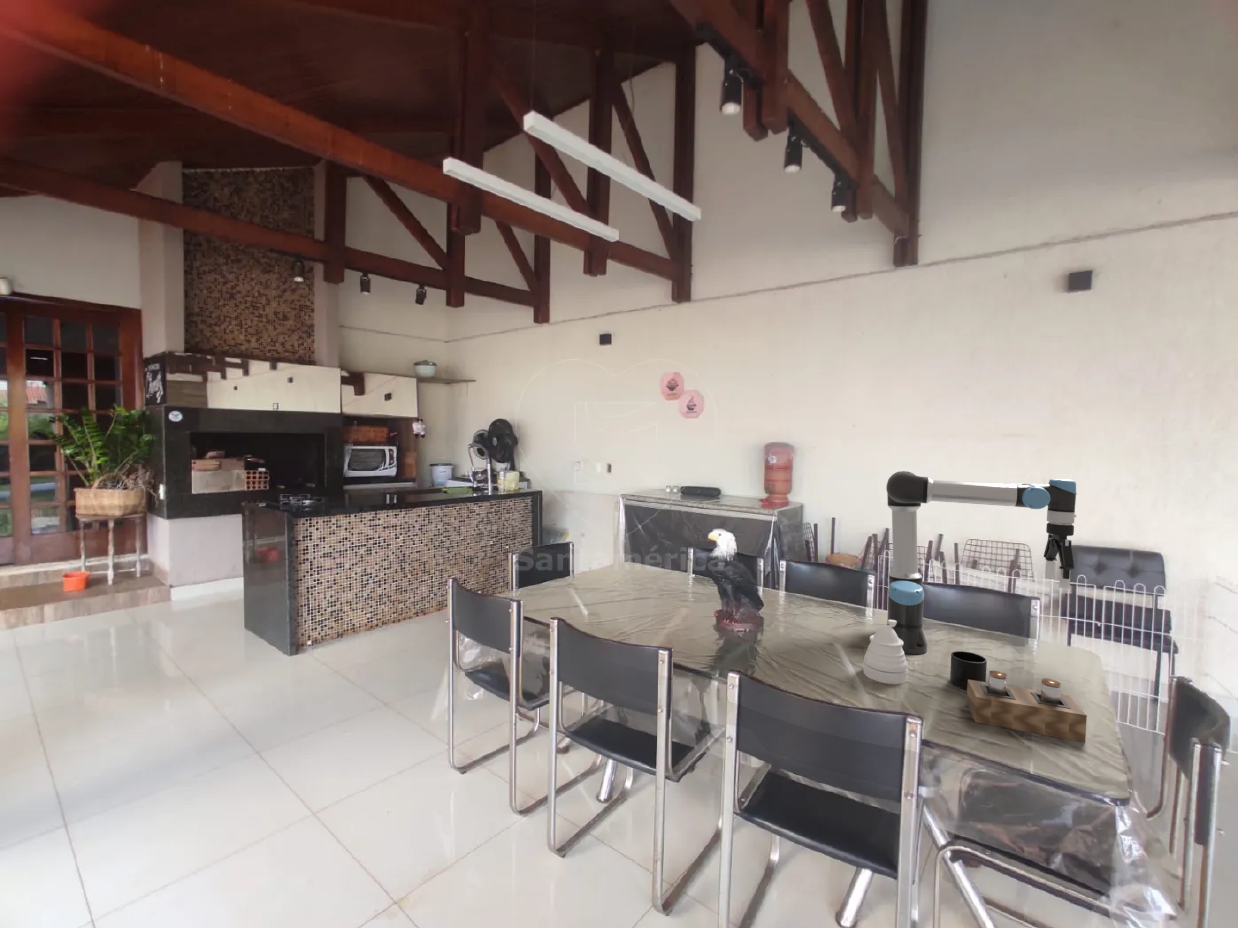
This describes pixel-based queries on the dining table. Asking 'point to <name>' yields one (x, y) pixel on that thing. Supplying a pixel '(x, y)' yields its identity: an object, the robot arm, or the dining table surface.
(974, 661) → the mug
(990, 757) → the dining table surface
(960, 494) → the robot arm
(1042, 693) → the peg
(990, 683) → the peg
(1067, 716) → the socket block
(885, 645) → the honey pot
